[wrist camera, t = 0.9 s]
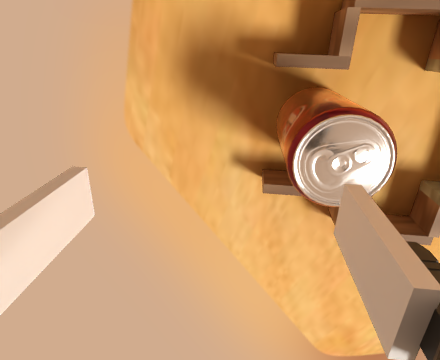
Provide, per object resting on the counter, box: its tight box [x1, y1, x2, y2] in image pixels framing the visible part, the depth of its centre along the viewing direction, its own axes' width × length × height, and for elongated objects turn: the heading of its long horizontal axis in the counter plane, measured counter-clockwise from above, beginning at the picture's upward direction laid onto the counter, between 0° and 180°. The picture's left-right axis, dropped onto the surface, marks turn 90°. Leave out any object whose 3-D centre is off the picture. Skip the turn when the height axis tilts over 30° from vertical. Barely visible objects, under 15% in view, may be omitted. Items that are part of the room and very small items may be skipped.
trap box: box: [262, 0, 440, 245], centre depth 29 cm, size 22×21×4 cm
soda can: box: [276, 87, 397, 207], centre depth 25 cm, size 7×7×12 cm
